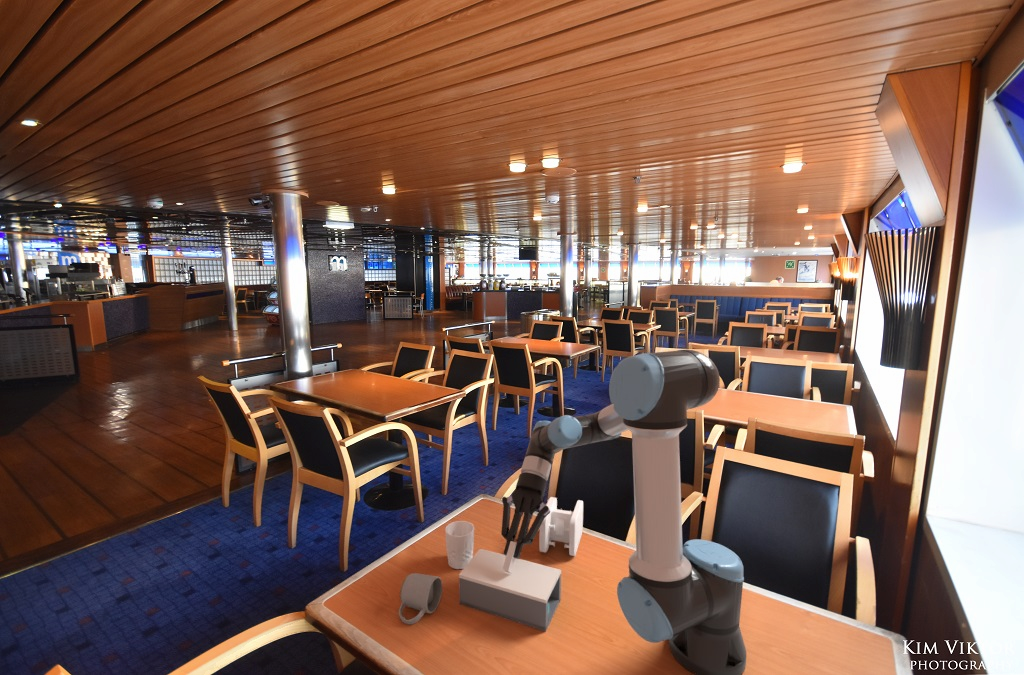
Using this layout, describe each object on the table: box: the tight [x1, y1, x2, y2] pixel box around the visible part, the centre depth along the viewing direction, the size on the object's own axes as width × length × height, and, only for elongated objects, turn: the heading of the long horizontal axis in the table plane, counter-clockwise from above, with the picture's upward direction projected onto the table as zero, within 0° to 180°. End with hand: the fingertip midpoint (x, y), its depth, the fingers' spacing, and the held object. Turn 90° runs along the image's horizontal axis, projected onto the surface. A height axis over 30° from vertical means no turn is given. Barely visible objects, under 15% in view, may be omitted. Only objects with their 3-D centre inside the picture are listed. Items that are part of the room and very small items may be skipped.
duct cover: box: [458, 548, 562, 603], centre depth 114 cm, size 22×11×1 cm, turn 67°
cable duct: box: [458, 573, 562, 632], centre depth 114 cm, size 22×11×7 cm, turn 67°
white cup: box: [444, 520, 475, 570], centre depth 130 cm, size 8×8×10 cm
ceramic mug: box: [398, 572, 443, 625], centre depth 112 cm, size 11×8×8 cm
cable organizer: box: [538, 496, 584, 557], centre depth 138 cm, size 15×11×12 cm
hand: (506, 571), depth 112 cm, fingers closed
